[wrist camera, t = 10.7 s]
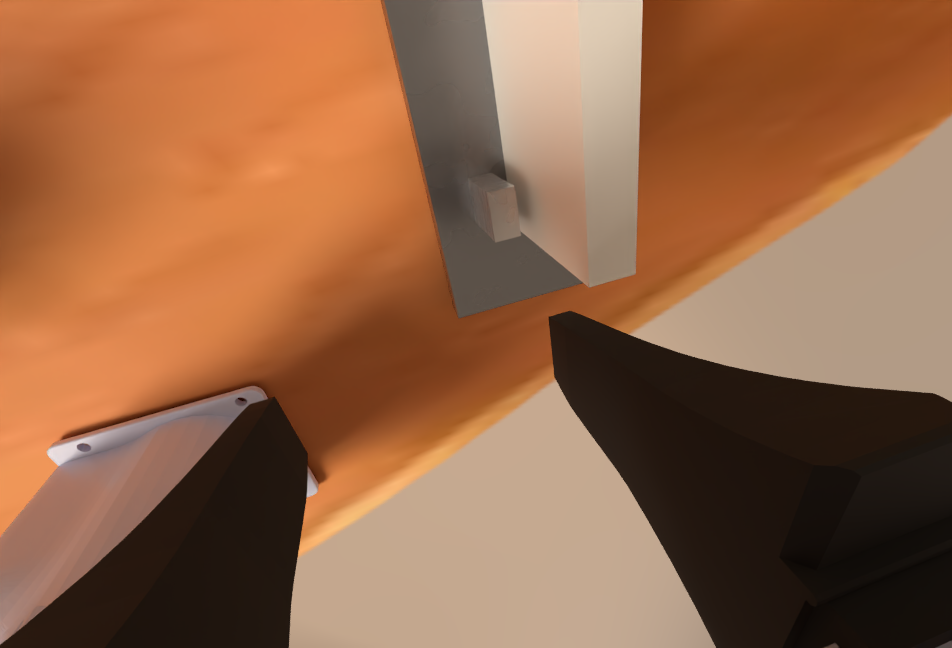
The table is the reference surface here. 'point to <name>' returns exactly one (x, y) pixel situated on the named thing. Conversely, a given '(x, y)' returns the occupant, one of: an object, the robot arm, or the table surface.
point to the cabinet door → (571, 126)
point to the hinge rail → (465, 155)
